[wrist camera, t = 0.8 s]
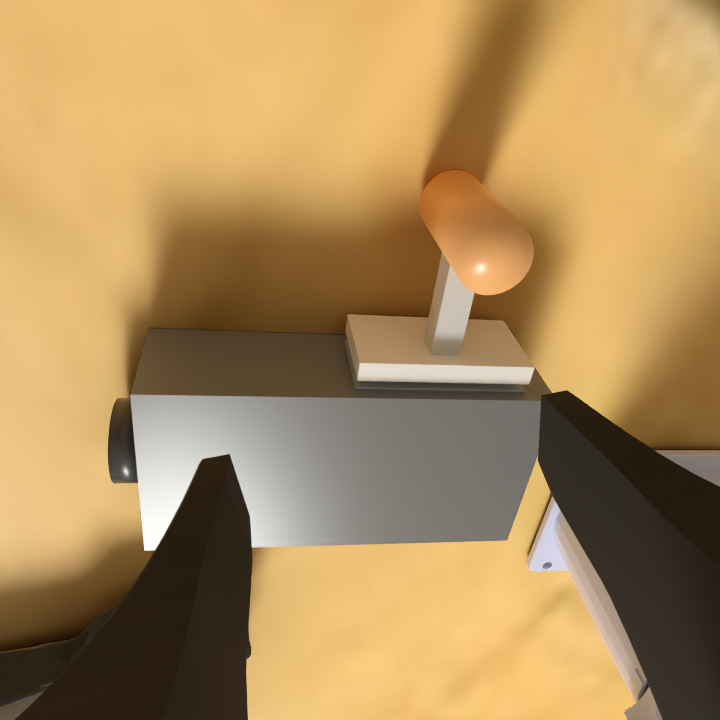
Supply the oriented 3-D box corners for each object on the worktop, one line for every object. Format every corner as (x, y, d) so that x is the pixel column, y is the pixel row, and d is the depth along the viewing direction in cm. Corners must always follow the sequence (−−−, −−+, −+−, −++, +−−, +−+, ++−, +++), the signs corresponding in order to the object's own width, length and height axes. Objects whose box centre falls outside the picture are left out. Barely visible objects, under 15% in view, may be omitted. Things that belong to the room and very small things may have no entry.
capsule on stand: (543, 176, 21) (608, 227, 17) (499, 336, 24) (544, 409, 20) (366, 161, 20) (394, 212, 16) (345, 331, 23) (363, 406, 19)
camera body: (517, 339, 25) (557, 399, 21) (477, 471, 29) (506, 540, 25) (118, 325, 22) (95, 392, 19) (132, 474, 26) (115, 551, 22)
